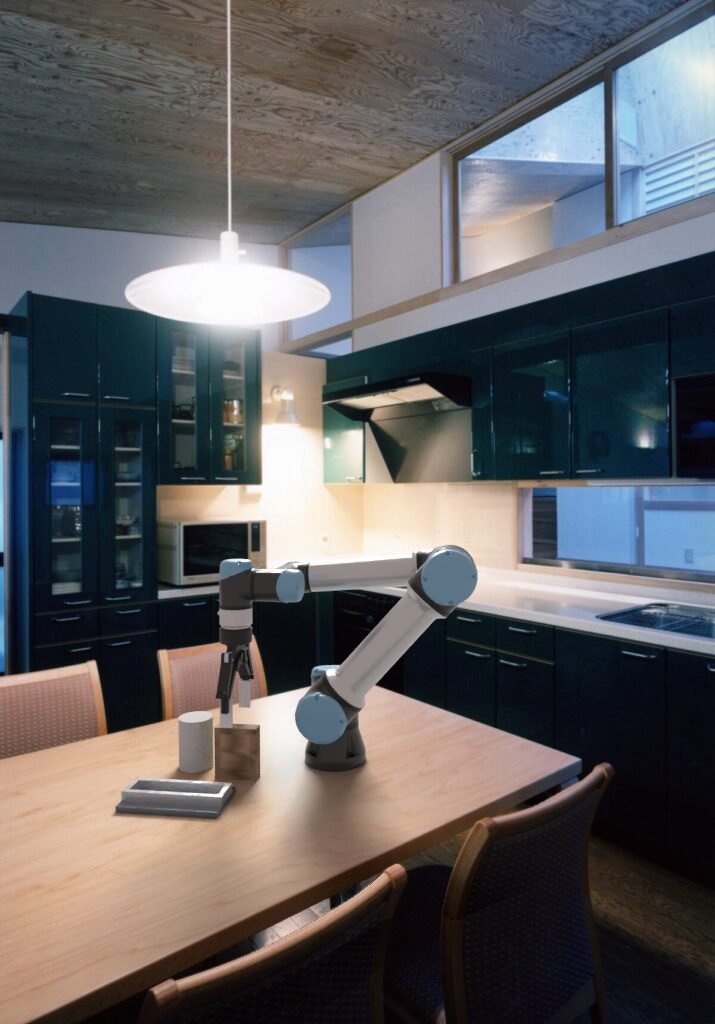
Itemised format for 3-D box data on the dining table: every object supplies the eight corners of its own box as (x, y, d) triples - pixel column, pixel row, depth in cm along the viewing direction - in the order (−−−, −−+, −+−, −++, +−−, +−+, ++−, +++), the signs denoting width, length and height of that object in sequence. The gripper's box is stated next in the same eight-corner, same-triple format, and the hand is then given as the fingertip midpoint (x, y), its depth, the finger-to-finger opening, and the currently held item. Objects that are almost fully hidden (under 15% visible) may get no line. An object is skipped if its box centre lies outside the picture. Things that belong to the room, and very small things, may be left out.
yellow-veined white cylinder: (204, 773, 154) (204, 723, 154) (173, 771, 156) (172, 721, 155) (218, 760, 162) (218, 712, 162) (188, 757, 164) (187, 710, 163)
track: (235, 791, 145) (235, 777, 145) (217, 818, 133) (217, 803, 133) (141, 786, 147) (141, 772, 147) (115, 812, 136) (115, 797, 136)
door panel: (260, 775, 153) (259, 724, 153) (256, 781, 150) (256, 729, 150) (219, 773, 155) (218, 722, 154) (214, 778, 151) (214, 727, 151)
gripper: (236, 615, 164) (237, 699, 165) (200, 637, 139) (200, 735, 140) (266, 616, 163) (265, 700, 164) (234, 638, 138) (234, 737, 139)
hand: (235, 716), depth 152 cm, fingers open, 13 cm apart
